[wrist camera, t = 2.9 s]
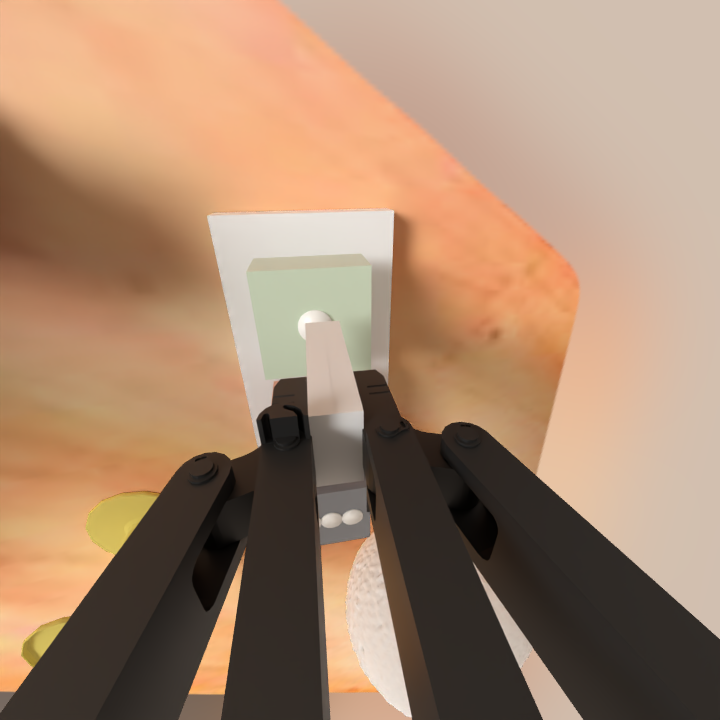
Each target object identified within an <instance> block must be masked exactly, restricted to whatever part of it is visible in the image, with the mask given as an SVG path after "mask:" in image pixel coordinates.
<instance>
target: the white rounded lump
mask: <svg viewBox="0 0 720 720" xmlns="http://www.w3.org/2000/svg"><path fill="white" fill-rule="evenodd" d="M473 564H474V563H473ZM474 566H475V564H474ZM475 569H476V571H477V573H478V575H479V578H480V580H481V582H482V584H483V586H484V589H485V591H486V593H487V595H488V598H489V600H490V602H491V604H492V607H493V609H494V611H495V613H496V616H497V618H498V620H499V622H500V625H501V627H502V629H503V631H504V634H505V636H506V638H507V640H508V643H509V645H510V647H511V649H512V652H513V654H514V656H515V658H516V661H517V663H518V665H519V667H520V668H521V667H522V666H523V663H524V662H525V661H526V659H527V658H528V657H529V654H530V652H531V651H532V648H533V647H532V646H531V644H530V643H529V641H528V640H527V639H526V637H525V636H524V634H523V633H522V631H521V630H520V629H519V627H518V626H517V624H516V623H515V621H514V620H513V619H512V617H511V616H510V614H509V613H508V611H507V610H506V609H505V607H504V606H503V604H502V603H501V602H500V600H499V599H498V597H497V596H496V594H495V593H494V592H493V590H492V589H491V587H490V586H489V584H488V583H487V582H486V580H485V579H484V577H483V576H482V574H481V573H480V572H479V570H478V569H477V567H476V566H475ZM345 603H346V619H347V625H348V632H349V635H350V641H351V642H352V644H353V650H354V651H355V652H356V654H357V658H358V660H359V665H360V667H361V668H362V669H363V671H364V673H365V675H366V676H368V678H369V680H370V682H371V683H372V685H373V686H375V687H376V689H377V690H378V692H379V693H381V694H382V696H383V697H384V698H385V700H386V701H387V702H388V703H389V704H391V705H393V706H394V707H395V708H396V709H397V710H399V711H401V712H403V714H404V715H405V716H407V717H411V718H412V715H411V711H410V706H409V701H408V696H407V691H406V686H405V681H404V676H403V671H402V667H401V662H400V657H399V652H398V647H397V642H396V637H395V632H394V627H393V622H392V618H391V613H390V608H389V603H388V598H387V593H386V588H385V583H384V578H383V574H382V569H381V564H380V559H379V554H378V549H377V544H376V539H375V534H374V532H373V533H371V534H370V537H367V539H366V540H365V541H364V543H362V545H361V547H360V549H359V550H358V551H357V555H356V557H355V560H354V562H353V566H352V569H351V570H350V578H349V580H348V585H347V595H346V601H345Z"/></svg>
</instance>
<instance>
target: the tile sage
mask: <svg viewBox="0 0 720 720" xmlns="http://www.w3.org/2000/svg"><path fill="white" fill-rule="evenodd" d="M246 275H247V280H248V286H249V291H250V297H251V302H252V308H253V313H254V319H255V324H256V330H257V336H258V341H259V347H260V352H261V358H262V363H263V369H264V374H265V380H270V379H280V378H290V377H301V376H307V365H306V332H305V323H312V322H326V321H339V322H340V326H341V329H342V333H343V337H344V340H345V344H346V348H347V351H348V355H349V359H350V362H351V366H352V370H353V371H362V370H371V277H372V265H371V264H370V263H369V262H368V261H367V260H366V258H365V257H364V256H363V255H362V254H361V253H360V254H338V255H317V256H295V257H274V258H253V260H252V262H251V264H250V265H249V267H248V269H247V271H246Z"/></svg>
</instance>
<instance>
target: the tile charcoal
mask: <svg viewBox="0 0 720 720" xmlns="http://www.w3.org/2000/svg"><path fill="white" fill-rule="evenodd" d="M317 498H318V510H319V528H320V545H325V544H331V543H337V542H343V541H349V540H355V539H361V538H366V537H370V512H367V483H366V478H365V474H364V481H357V482H350V483H343V484H335V485H328V486H321V487H317Z"/></svg>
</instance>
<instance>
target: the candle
mask: <svg viewBox="0 0 720 720" xmlns="http://www.w3.org/2000/svg"><path fill="white" fill-rule="evenodd" d="M159 495H160V493H154V492H148V491H141V492H129V493H121V494H118V495H115V496H113V497H110V498H107V499H105V500H102V501H101V502H100V503H99V504H98V505H97V506H96V507H95V508H93V509H92V510H91V511H90V512H89V514H88V519H87V524H86V530H87V532H88V534H89V536H90V538H91V540H92V542H94V543H95V544H97V545H98V546H99V547H101V548H102V549H104V550H105V551H106V552H109V553H112V554H115V555H116V554H117V552H118V551H119V550H120V548H121V547H122V545H123V544H124V543H125V541H126V540H127V539H128V537H129V536H130V534H131V533H132V532H133V530H134V529H135V528H136V526H137V525H138V523H139V522H140V521H141V519H142V518H143V517H144V515H145V514H146V513H147V511H148V510H149V508H150V507H151V506H152V504H153V503H154V502H155V500H156V499H157V497H158V496H159ZM70 617H71V616H69V617H63V618H60V619H57V620H55V621H52V622H49V623H47V624H44V625H41V626H40V627H39V628H38V629H36V630H35V631H34V632H33V633H32V634H31V635H29V636H28V637H27V638H26V639H25V640H24V642H23V645H22V652H21V656H22V657H23V658H24V659H25V660H26V661H27V662H28V664H29V665H30V666H32V667H34V666H35V665H36V664H37V662H38V661H39V659H40V658H41V657H42V655H43V654H44V653H45V651H46V650H47V648H48V647H49V646H50V644H51V643H52V642H53V640H54V639H55V637H56V636H57V635H58V633H59V632H60V631H61V629H62V628H63V626H64V625H65V624H66V622H67V621H68V620H69V618H70Z"/></svg>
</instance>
